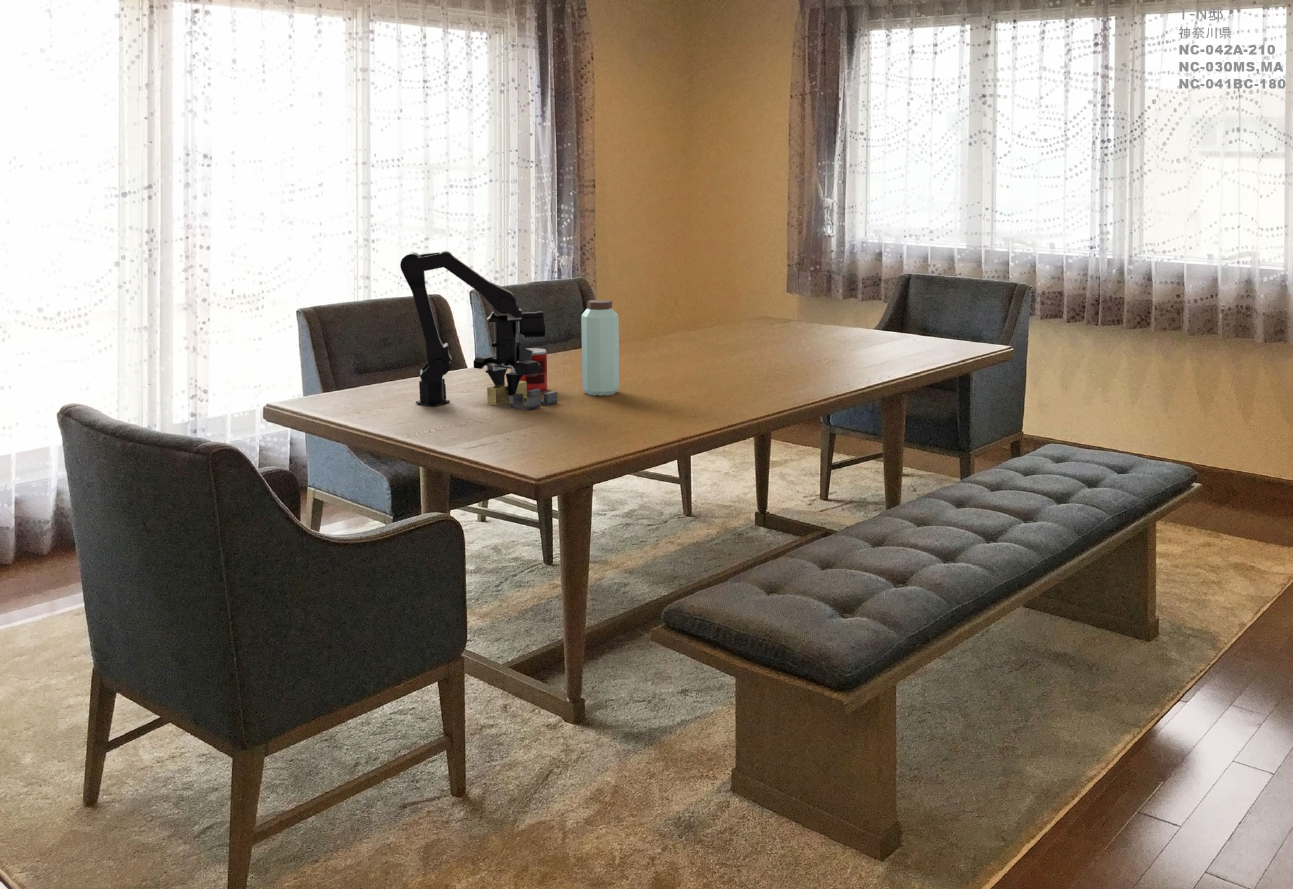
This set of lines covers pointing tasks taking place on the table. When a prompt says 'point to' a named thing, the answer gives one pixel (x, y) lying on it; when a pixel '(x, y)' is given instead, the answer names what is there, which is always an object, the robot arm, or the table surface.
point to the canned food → (538, 378)
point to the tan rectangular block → (504, 393)
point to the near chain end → (530, 403)
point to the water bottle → (600, 348)
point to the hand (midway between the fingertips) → (507, 396)
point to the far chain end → (548, 397)
